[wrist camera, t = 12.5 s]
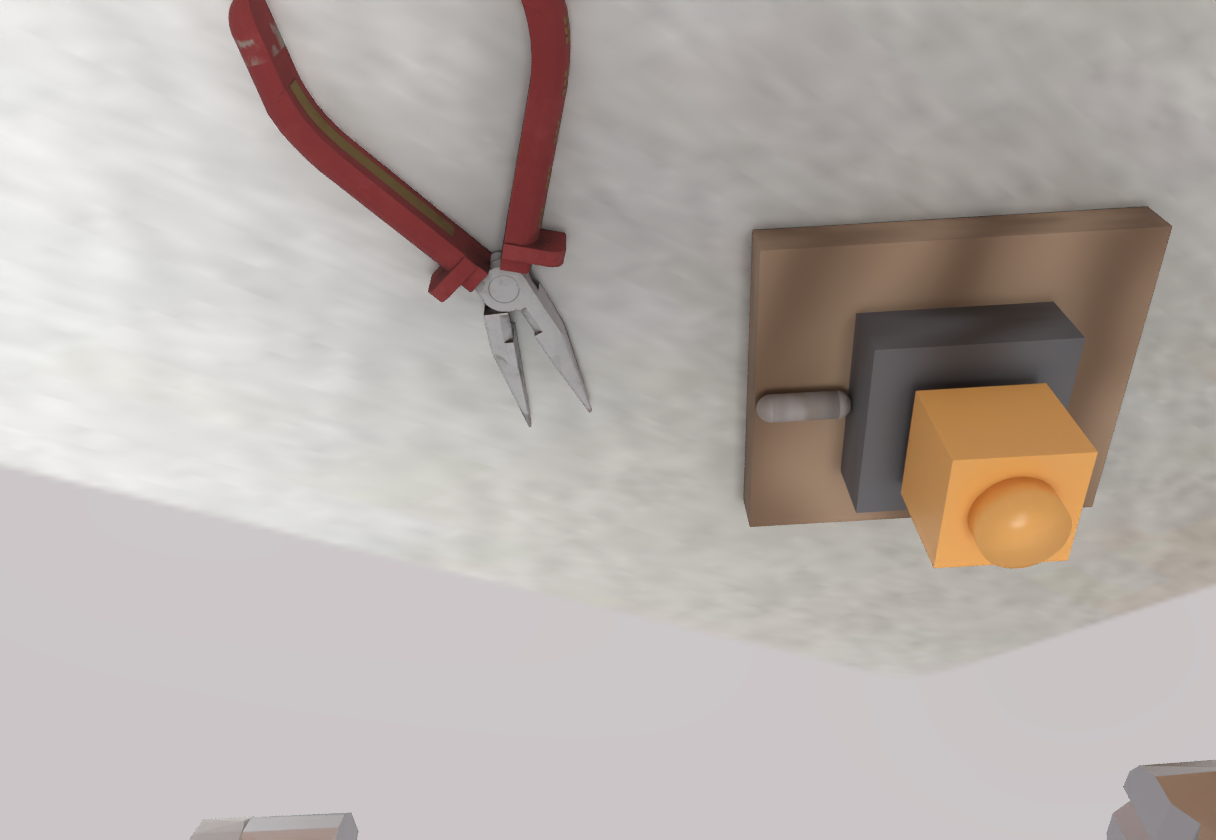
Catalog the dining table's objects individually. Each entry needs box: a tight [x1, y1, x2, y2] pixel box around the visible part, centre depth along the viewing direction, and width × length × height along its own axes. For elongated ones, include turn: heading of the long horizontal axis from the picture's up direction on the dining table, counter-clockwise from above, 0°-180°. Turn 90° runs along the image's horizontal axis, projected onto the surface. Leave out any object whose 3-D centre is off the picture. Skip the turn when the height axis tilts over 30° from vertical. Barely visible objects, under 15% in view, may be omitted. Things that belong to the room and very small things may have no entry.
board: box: [744, 207, 1172, 527], centre depth 40 cm, size 16×14×10 cm
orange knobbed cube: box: [901, 383, 1098, 568], centre depth 37 cm, size 5×5×6 cm
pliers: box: [229, 0, 592, 427], centre depth 39 cm, size 12×20×3 cm, turn 17°
